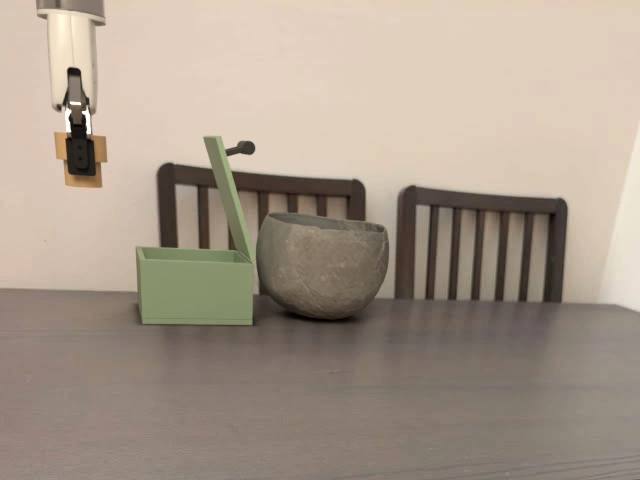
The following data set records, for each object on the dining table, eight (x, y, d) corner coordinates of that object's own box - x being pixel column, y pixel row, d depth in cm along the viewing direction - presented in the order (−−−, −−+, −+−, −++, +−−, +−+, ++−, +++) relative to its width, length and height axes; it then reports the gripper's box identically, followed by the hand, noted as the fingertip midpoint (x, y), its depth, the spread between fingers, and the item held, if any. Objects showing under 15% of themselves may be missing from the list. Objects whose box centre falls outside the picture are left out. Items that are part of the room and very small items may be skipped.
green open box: (142, 324, 102) (139, 259, 99) (138, 304, 114) (135, 246, 111) (252, 325, 107) (253, 263, 104) (237, 306, 119) (238, 250, 115)
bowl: (251, 327, 106) (253, 218, 100) (256, 300, 125) (258, 207, 119) (390, 335, 109) (401, 229, 102) (375, 308, 127) (383, 217, 121)
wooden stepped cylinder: (49, 184, 90) (44, 131, 87) (73, 183, 95) (69, 133, 93) (95, 189, 89) (92, 135, 87) (117, 187, 95) (114, 136, 92)
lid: (215, 137, 96) (255, 126, 97) (202, 136, 107) (238, 127, 108) (251, 261, 104) (288, 250, 104) (235, 248, 115) (269, 238, 116)
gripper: (41, 12, 91) (55, 169, 98) (28, -12, 76) (45, 175, 83) (105, 20, 93) (114, 173, 100) (104, -1, 78) (114, 179, 85)
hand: (83, 172), depth 92 cm, fingers closed on wooden stepped cylinder, 6 cm apart
